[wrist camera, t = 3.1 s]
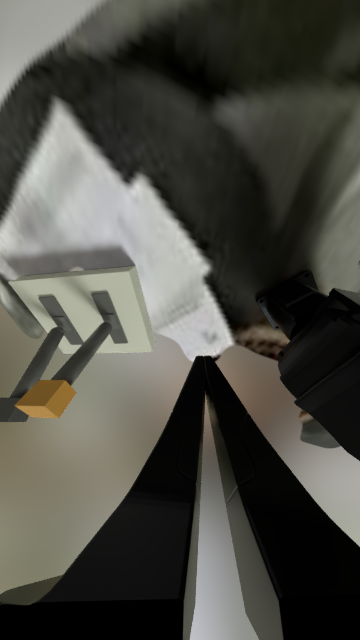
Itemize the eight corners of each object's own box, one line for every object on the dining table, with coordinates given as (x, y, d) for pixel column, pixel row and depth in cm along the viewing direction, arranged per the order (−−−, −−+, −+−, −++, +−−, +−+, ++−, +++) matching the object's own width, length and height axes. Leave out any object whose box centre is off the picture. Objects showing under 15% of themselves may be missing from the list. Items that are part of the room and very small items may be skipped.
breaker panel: (135, 265, 18) (41, 338, 7) (155, 341, 26) (125, 439, 14) (26, 275, 20) (-194, 346, 9) (73, 343, 27) (-13, 432, 16)
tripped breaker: (114, 318, 19) (44, 406, 10) (119, 329, 20) (59, 418, 11) (97, 319, 19) (14, 405, 10) (103, 330, 20) (31, 417, 11)
